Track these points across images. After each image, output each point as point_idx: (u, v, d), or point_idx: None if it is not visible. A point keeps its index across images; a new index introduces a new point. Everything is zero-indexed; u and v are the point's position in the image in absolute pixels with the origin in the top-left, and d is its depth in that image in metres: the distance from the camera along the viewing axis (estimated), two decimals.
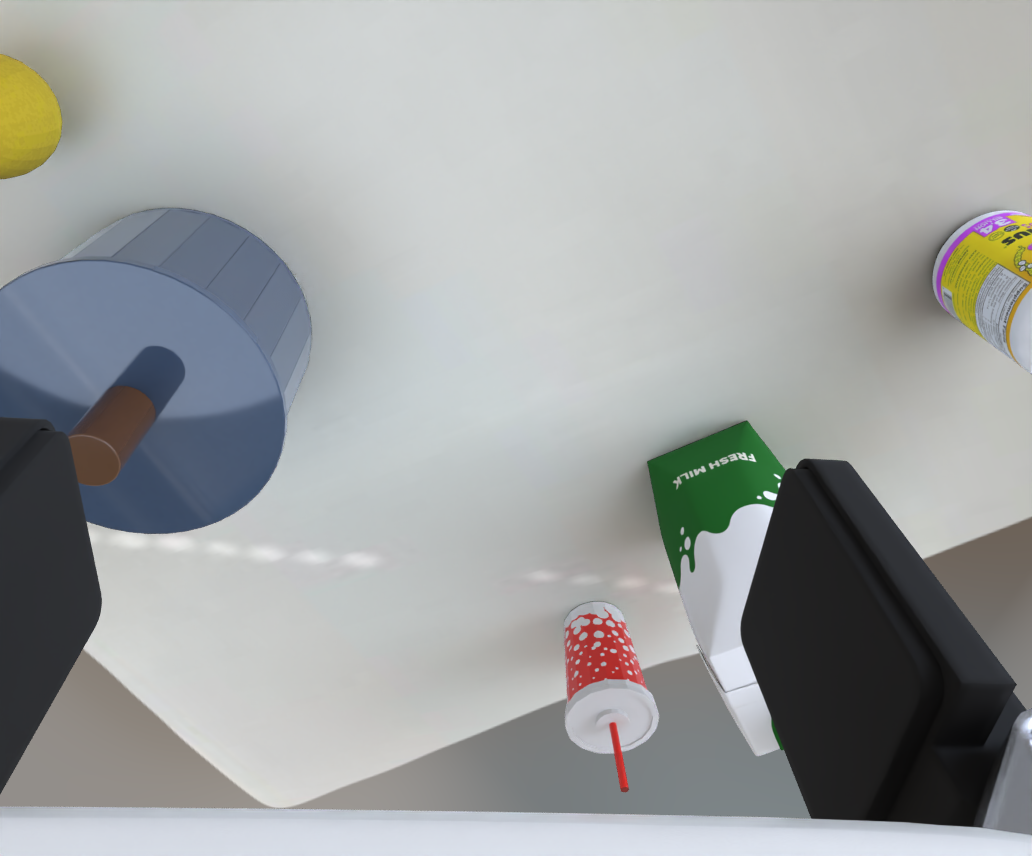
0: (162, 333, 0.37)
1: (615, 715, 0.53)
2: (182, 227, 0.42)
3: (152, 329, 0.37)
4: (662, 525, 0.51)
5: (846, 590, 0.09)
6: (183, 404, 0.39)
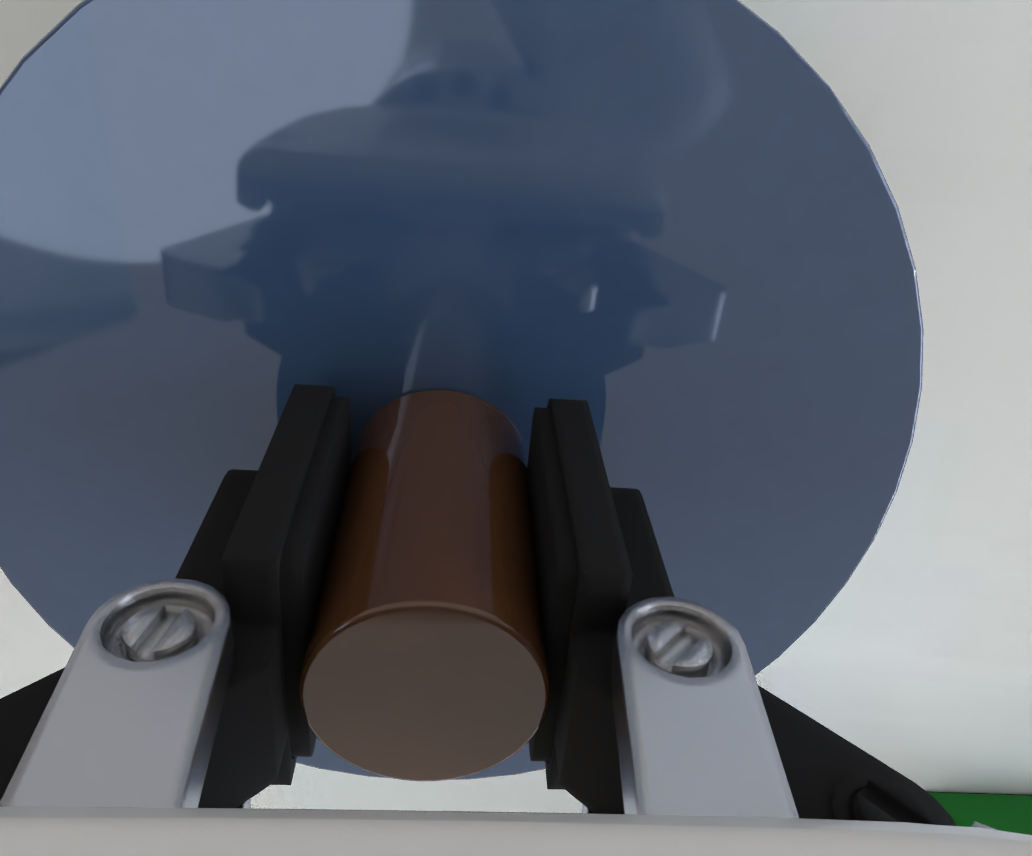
0: (720, 333, 0.12)
1: None
2: None
3: (706, 309, 0.11)
4: None
5: (544, 507, 0.10)
6: None
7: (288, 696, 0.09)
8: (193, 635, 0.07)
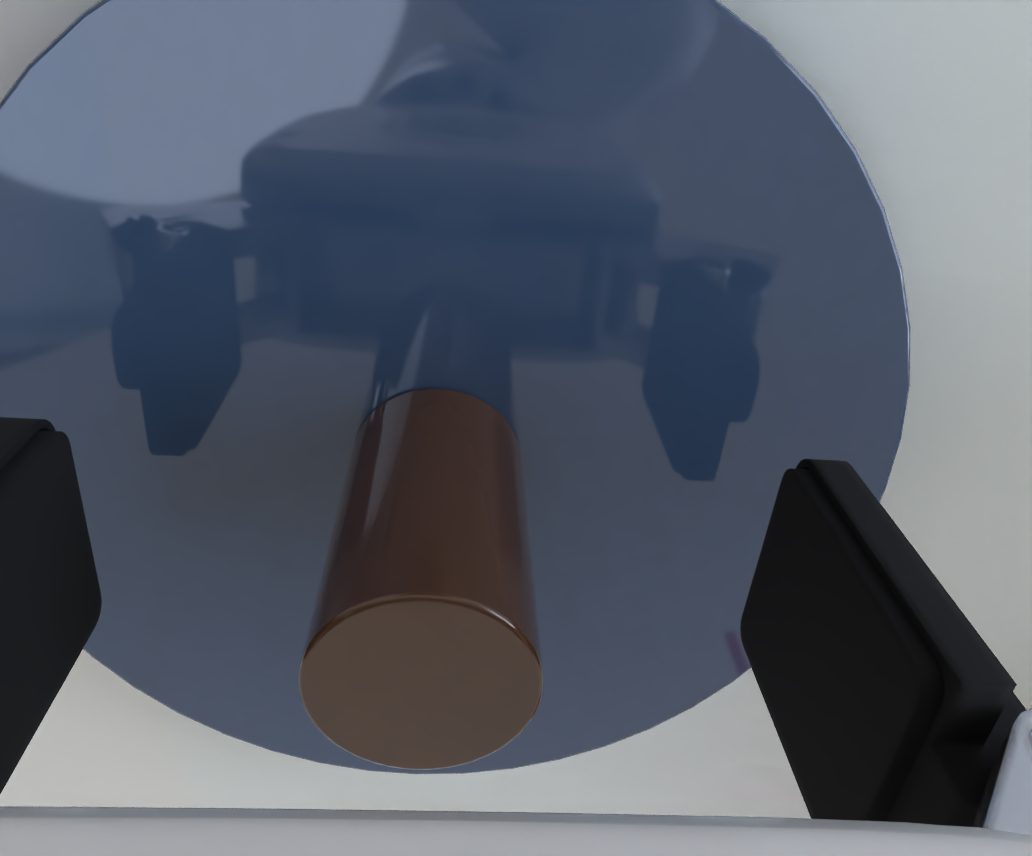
0: (712, 333, 0.12)
1: None
2: None
3: (697, 309, 0.12)
4: None
5: (846, 590, 0.09)
6: (586, 519, 0.13)
7: None
8: None
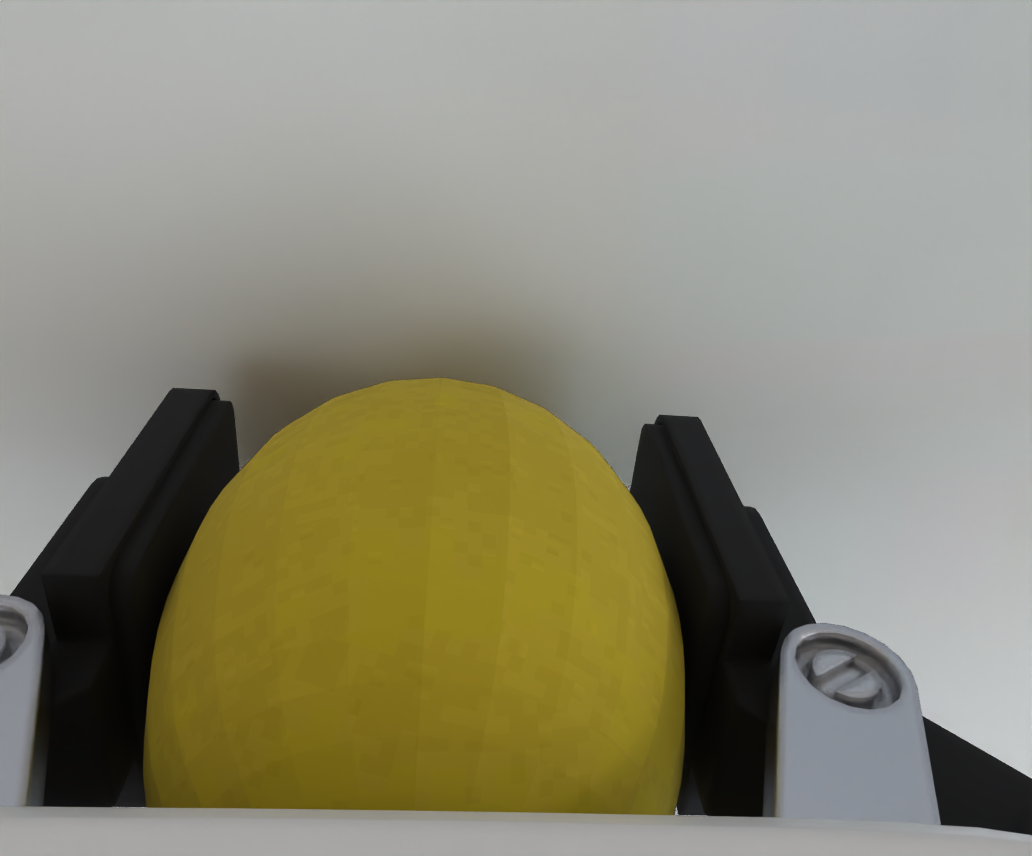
0: None
1: None
2: None
3: None
4: None
5: (673, 529, 0.10)
6: None
7: (134, 716, 0.08)
8: (0, 655, 0.07)
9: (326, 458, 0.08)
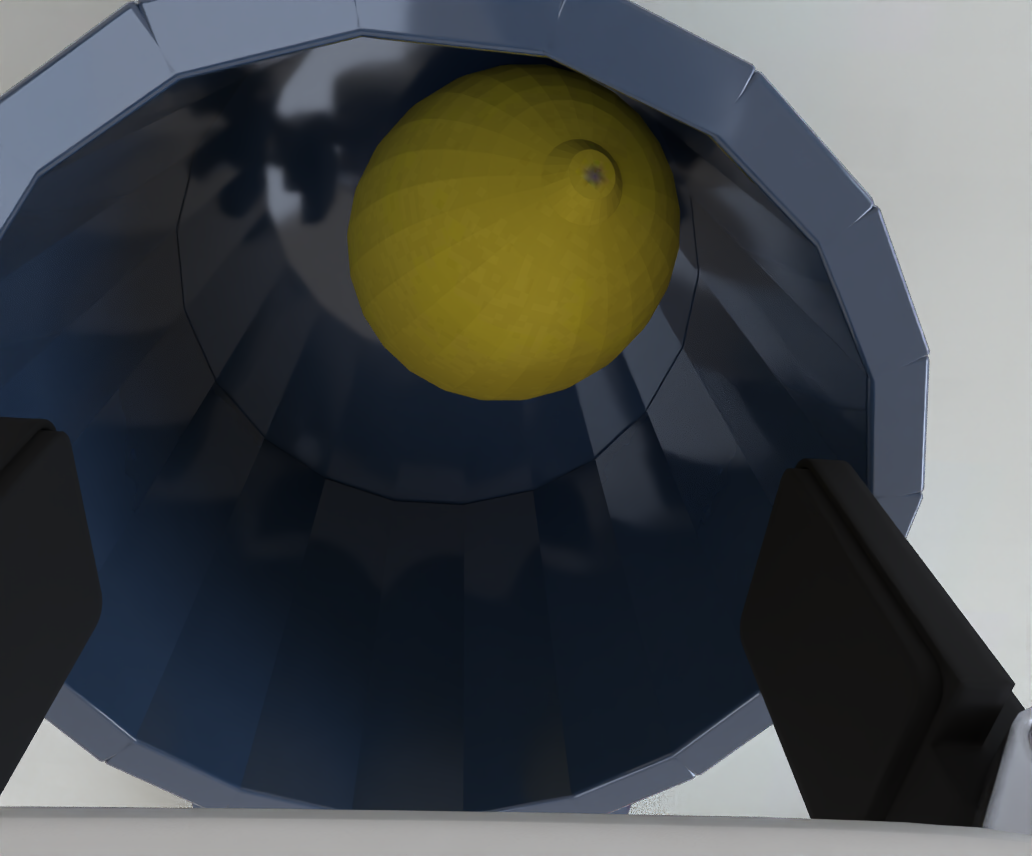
0: None
1: None
2: None
3: None
4: None
5: (845, 589, 0.09)
6: None
7: None
8: None
9: None
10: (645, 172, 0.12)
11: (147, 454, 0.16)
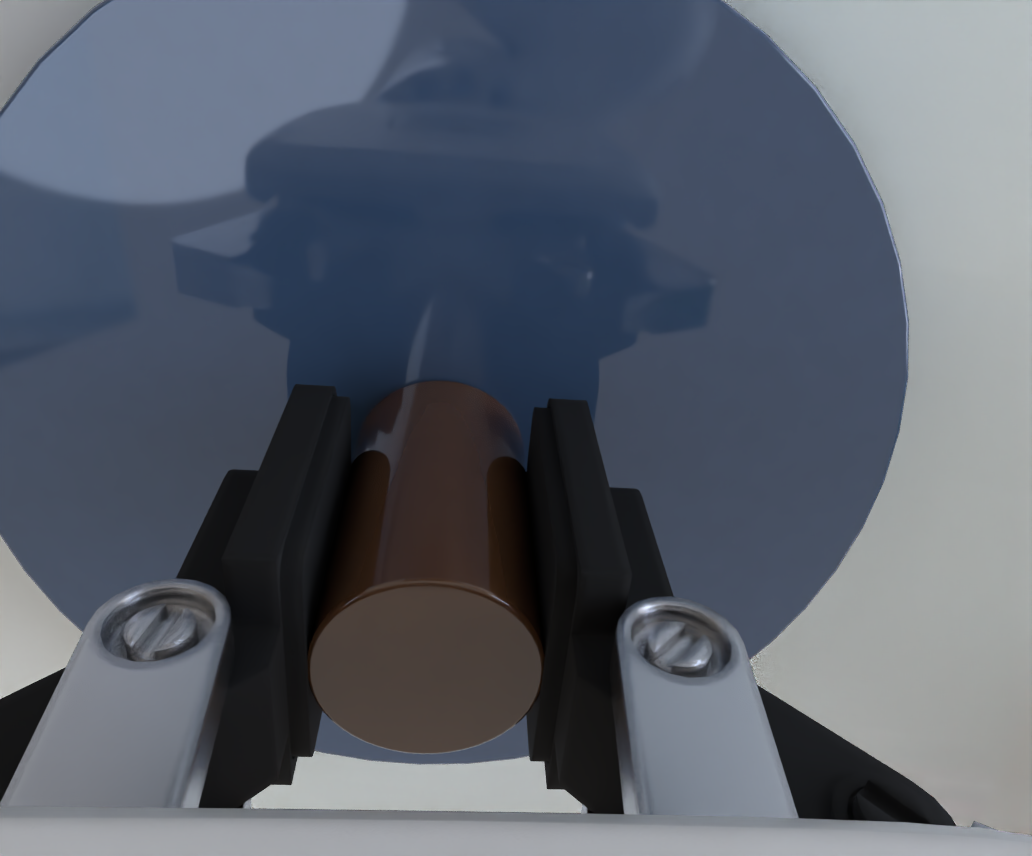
0: (712, 326, 0.12)
1: None
2: None
3: (698, 302, 0.12)
4: None
5: (543, 507, 0.10)
6: None
7: (288, 696, 0.09)
8: (193, 635, 0.07)
9: None
10: None
11: None
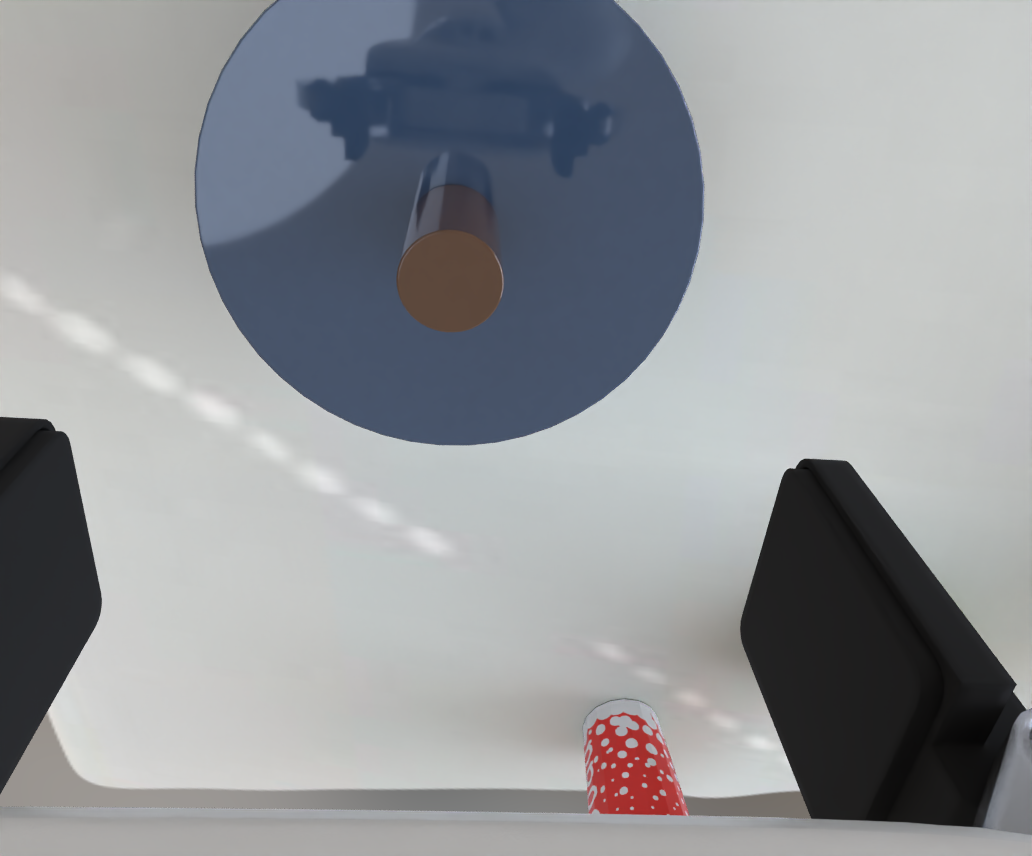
0: (596, 154, 0.23)
1: None
2: None
3: (588, 140, 0.23)
4: None
5: (846, 590, 0.09)
6: (535, 267, 0.24)
7: None
8: None
9: None
10: None
11: None
